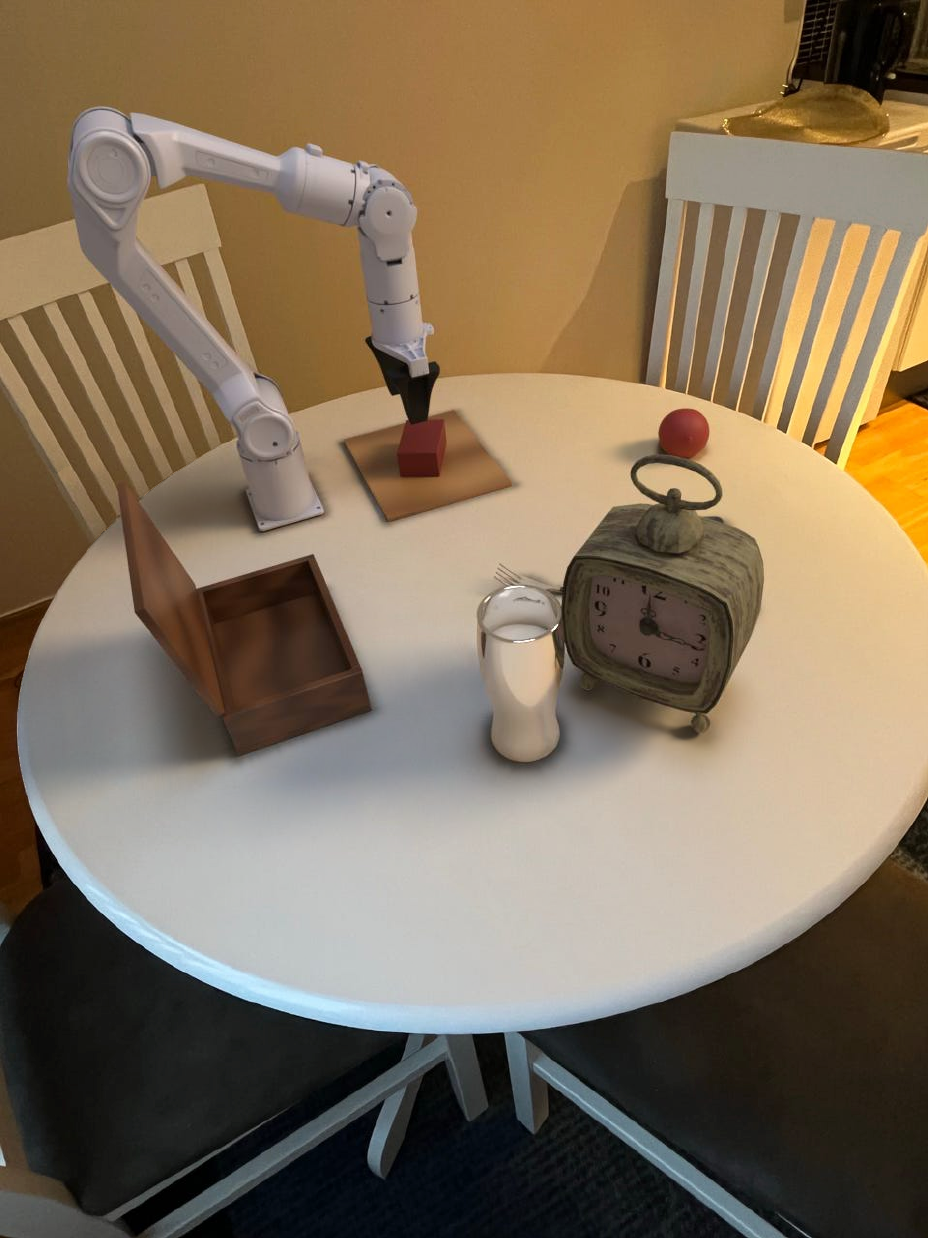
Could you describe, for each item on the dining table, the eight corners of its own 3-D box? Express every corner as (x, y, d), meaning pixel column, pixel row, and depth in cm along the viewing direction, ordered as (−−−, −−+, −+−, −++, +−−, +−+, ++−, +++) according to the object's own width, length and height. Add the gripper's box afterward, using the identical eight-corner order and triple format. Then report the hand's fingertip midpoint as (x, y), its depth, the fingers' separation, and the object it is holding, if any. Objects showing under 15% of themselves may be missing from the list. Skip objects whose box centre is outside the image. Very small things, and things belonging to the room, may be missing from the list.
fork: (646, 613, 84) (647, 598, 83) (494, 591, 88) (493, 577, 87) (649, 596, 86) (651, 581, 84) (500, 575, 90) (499, 561, 89)
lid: (124, 481, 74) (116, 484, 74) (144, 607, 61) (134, 612, 61) (195, 584, 84) (188, 587, 84) (225, 713, 71) (216, 717, 71)
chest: (323, 591, 90) (313, 553, 87) (372, 710, 78) (362, 671, 74) (208, 626, 88) (193, 589, 84) (238, 756, 75) (222, 718, 71)
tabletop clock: (561, 693, 77) (560, 463, 60) (602, 632, 82) (613, 405, 65) (713, 752, 71) (761, 515, 54) (747, 682, 76) (801, 446, 59)
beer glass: (541, 779, 70) (537, 656, 60) (471, 747, 73) (456, 625, 63) (578, 722, 74) (580, 598, 64) (510, 695, 77) (502, 572, 67)
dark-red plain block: (400, 477, 105) (396, 453, 102) (409, 442, 110) (406, 419, 108) (439, 476, 104) (436, 452, 101) (446, 442, 110) (444, 418, 107)
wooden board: (344, 442, 113) (343, 439, 112) (454, 412, 116) (454, 409, 116) (388, 522, 99) (387, 518, 98) (511, 485, 102) (511, 482, 102)
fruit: (656, 470, 105) (662, 439, 98) (656, 429, 107) (662, 396, 99) (706, 470, 105) (716, 439, 97) (705, 429, 106) (715, 395, 99)
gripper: (450, 310, 86) (461, 426, 95) (407, 264, 96) (420, 373, 105) (385, 325, 85) (402, 441, 94) (348, 277, 95) (367, 386, 104)
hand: (408, 406), depth 100 cm, fingers open, 7 cm apart
